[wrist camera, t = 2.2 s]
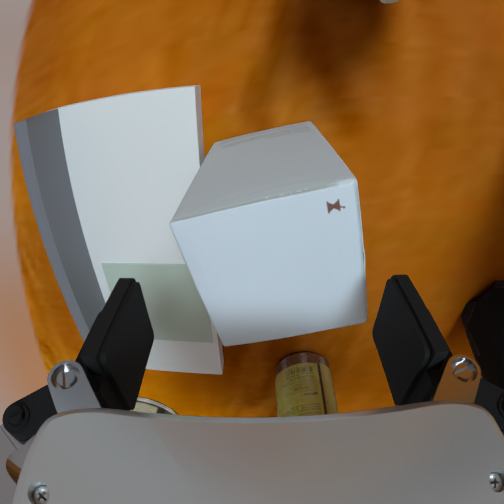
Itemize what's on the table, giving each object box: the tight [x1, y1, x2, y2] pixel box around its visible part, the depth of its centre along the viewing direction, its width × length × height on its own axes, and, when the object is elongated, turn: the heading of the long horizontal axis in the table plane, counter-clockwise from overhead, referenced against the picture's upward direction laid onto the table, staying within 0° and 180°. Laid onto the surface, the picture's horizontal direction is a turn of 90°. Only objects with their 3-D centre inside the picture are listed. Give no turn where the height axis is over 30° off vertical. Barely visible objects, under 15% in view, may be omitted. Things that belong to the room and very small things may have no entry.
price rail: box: [14, 109, 106, 342], centre depth 25 cm, size 1×28×4 cm, turn 1°
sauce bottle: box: [275, 352, 338, 417], centre depth 27 cm, size 7×6×20 cm
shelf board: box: [46, 85, 224, 375], centre depth 27 cm, size 12×28×2 cm, turn 1°
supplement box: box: [169, 121, 367, 346], centre depth 18 cm, size 7×7×13 cm
